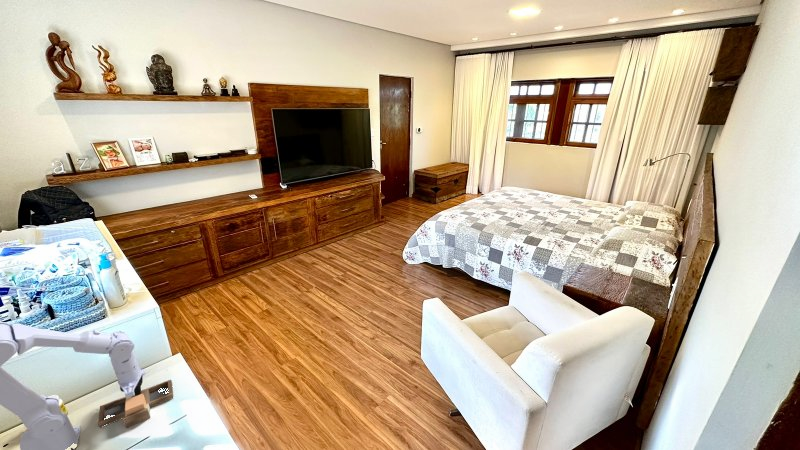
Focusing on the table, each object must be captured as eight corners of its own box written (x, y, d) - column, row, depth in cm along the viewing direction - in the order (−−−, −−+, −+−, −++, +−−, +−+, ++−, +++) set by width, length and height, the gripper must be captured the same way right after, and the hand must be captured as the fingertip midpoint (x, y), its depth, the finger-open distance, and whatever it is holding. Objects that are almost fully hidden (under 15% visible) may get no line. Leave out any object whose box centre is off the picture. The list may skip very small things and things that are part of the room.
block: (128, 419, 98) (125, 410, 96) (128, 408, 101) (125, 400, 99) (146, 412, 100) (143, 403, 99) (145, 401, 103) (143, 393, 102)
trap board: (98, 439, 93) (94, 431, 92) (101, 410, 101) (98, 401, 100) (174, 407, 104) (172, 399, 103) (172, 383, 112) (170, 375, 111)
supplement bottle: (54, 427, 95) (44, 409, 92) (42, 423, 96) (32, 405, 93) (72, 413, 100) (64, 395, 96) (61, 409, 100) (51, 391, 97)
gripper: (142, 376, 96) (151, 406, 101) (142, 346, 106) (151, 374, 111) (111, 387, 92) (123, 417, 97) (115, 354, 102) (126, 383, 107)
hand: (136, 395), depth 104 cm, fingers closed
